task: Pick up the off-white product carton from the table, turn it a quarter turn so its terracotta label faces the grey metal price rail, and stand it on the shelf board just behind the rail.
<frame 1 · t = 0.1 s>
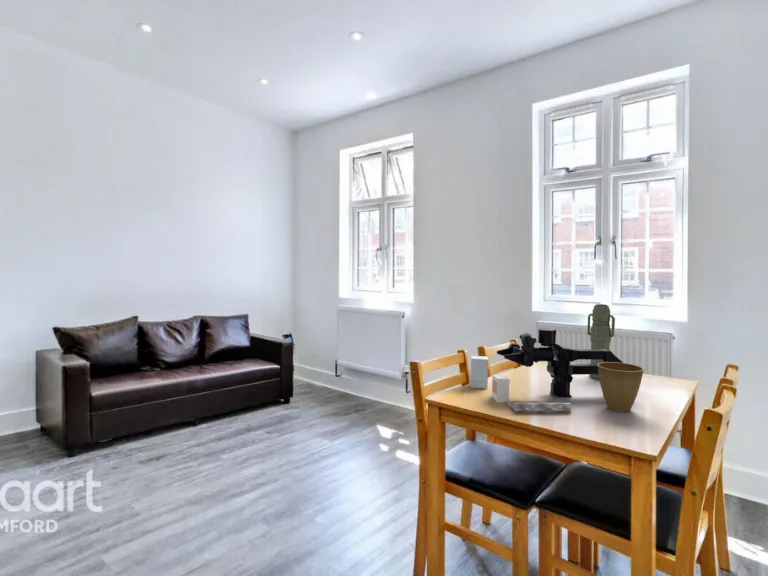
hand: (500, 354, 180), 17 cm above the table, tool horizontal, fingers open, 9 cm apart
supplement box: (478, 386, 194), on the table
plant pot: (618, 409, 164), on the table
thermos: (599, 377, 214), on the table
carton: (500, 399, 174), on the table
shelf: (536, 407, 164), on the table
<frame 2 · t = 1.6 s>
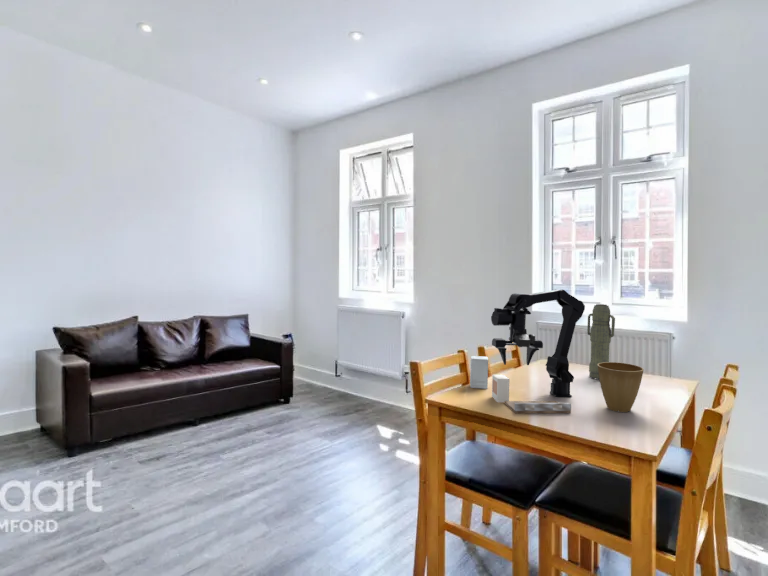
hand: (516, 364, 176), 13 cm above the table, tool pointing down, fingers open, 9 cm apart
nothing on the table moved.
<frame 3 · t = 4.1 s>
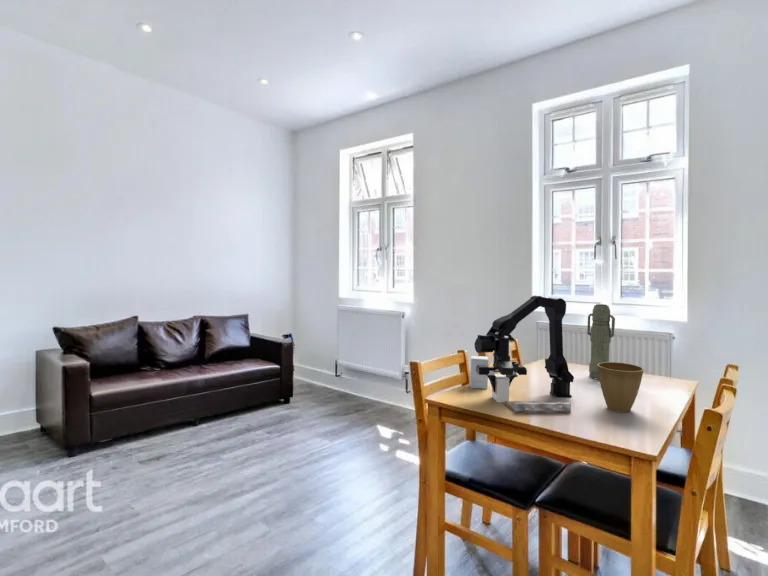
hand: (500, 391, 174), 3 cm above the table, tool pointing down, fingers closed on carton, 4 cm apart
carton: (500, 399, 174), on the table, touching gripper
everything else where it was.
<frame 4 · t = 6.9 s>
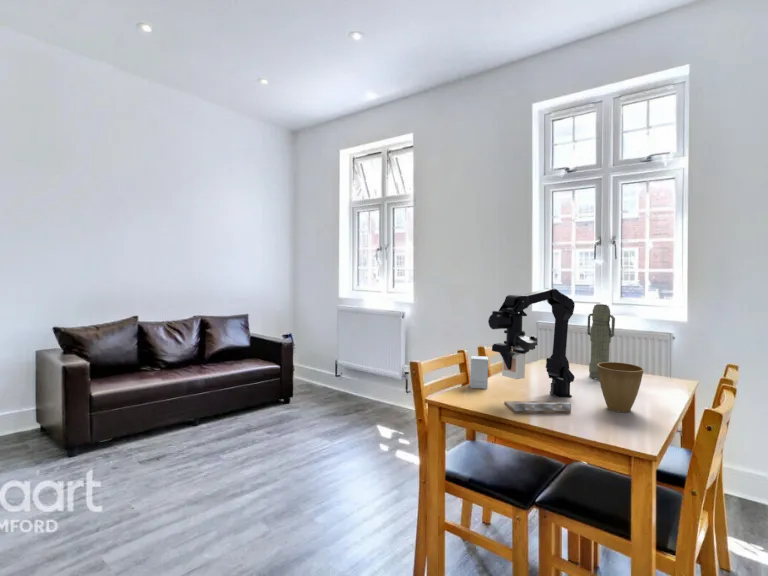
hand: (513, 368, 170), 13 cm above the table, tool pointing down, fingers closed on carton, 4 cm apart
carton: (513, 376, 171), point 10 cm above the table, touching gripper
everything else where it was.
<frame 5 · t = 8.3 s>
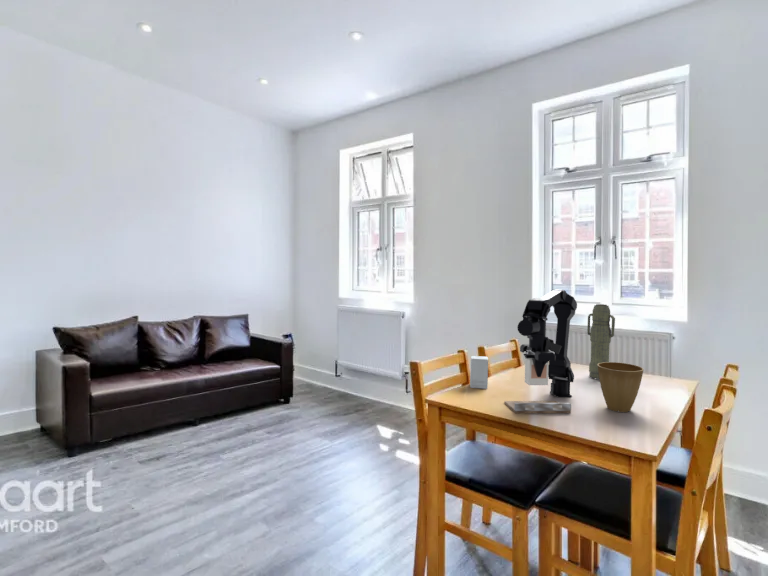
hand: (536, 375, 165), 12 cm above the table, tool pointing down, fingers closed on carton, 4 cm apart
carton: (536, 383, 165), point 9 cm above the table, touching gripper
everything else where it was.
when the fingers open (5 cm above the table, at t = 9.8 s): carton drops 1 cm, resting on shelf.
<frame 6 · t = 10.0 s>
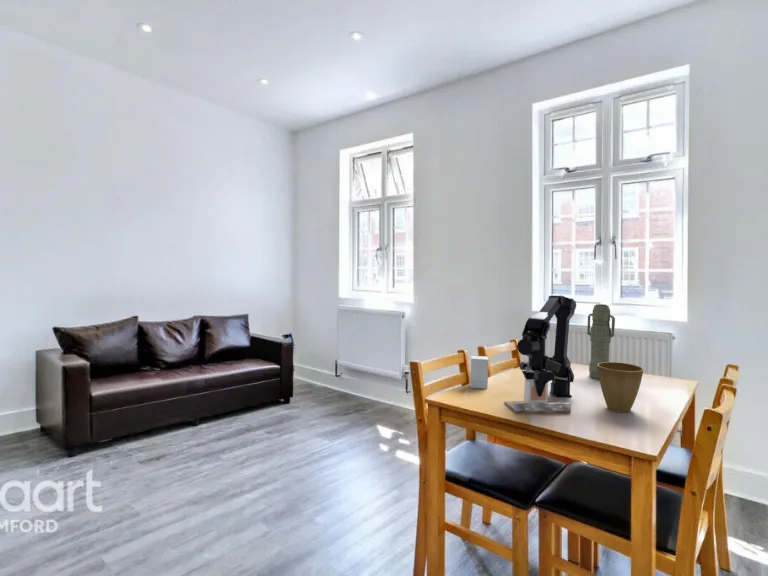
hand: (535, 393, 165), 5 cm above the table, tool pointing down, fingers open, 7 cm apart
carton: (535, 404, 165), point 1 cm above the table, touching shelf
everything else where it was.
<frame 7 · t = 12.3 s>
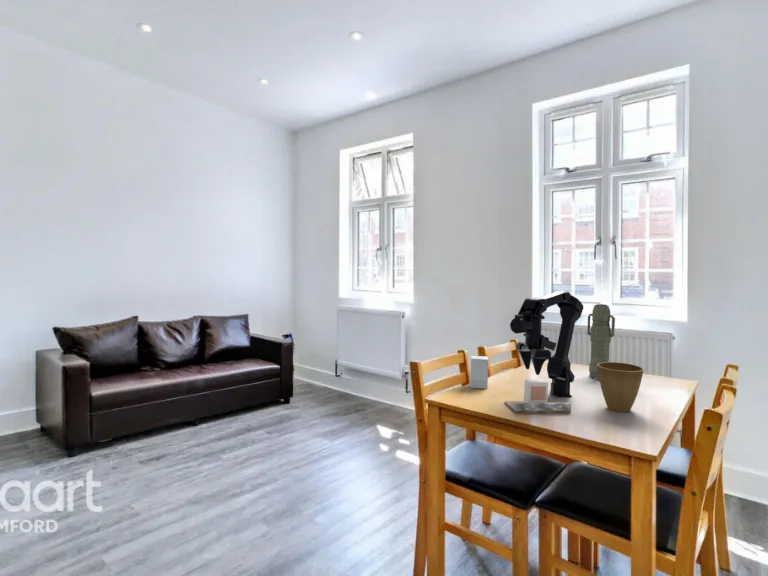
hand: (532, 371, 170), 12 cm above the table, tool pointing down, fingers open, 9 cm apart
nothing on the table moved.
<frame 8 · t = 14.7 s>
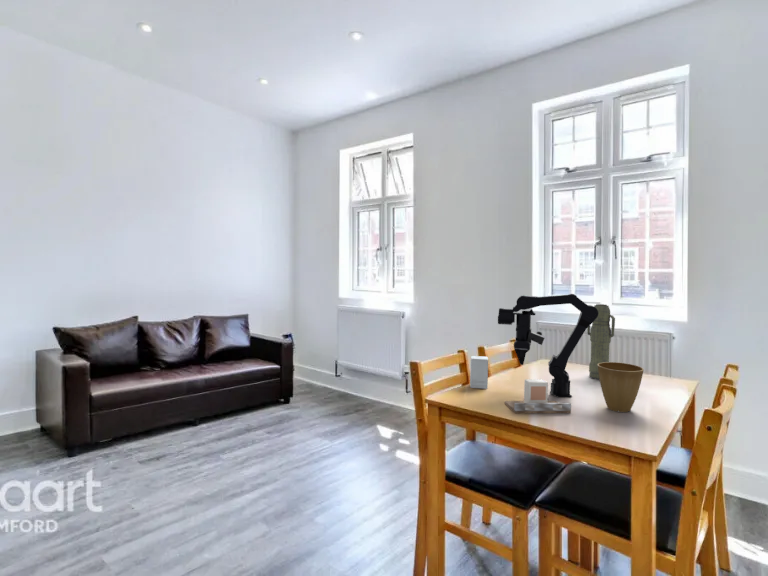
hand: (522, 362, 187), 12 cm above the table, tool pointing down, fingers open, 9 cm apart
nothing on the table moved.
at the end: carton inside the target area on the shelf (1.0 cm from its centre), point 0.8 cm above the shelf's base; carton tilted 0°; the gripper is holding nothing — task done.
